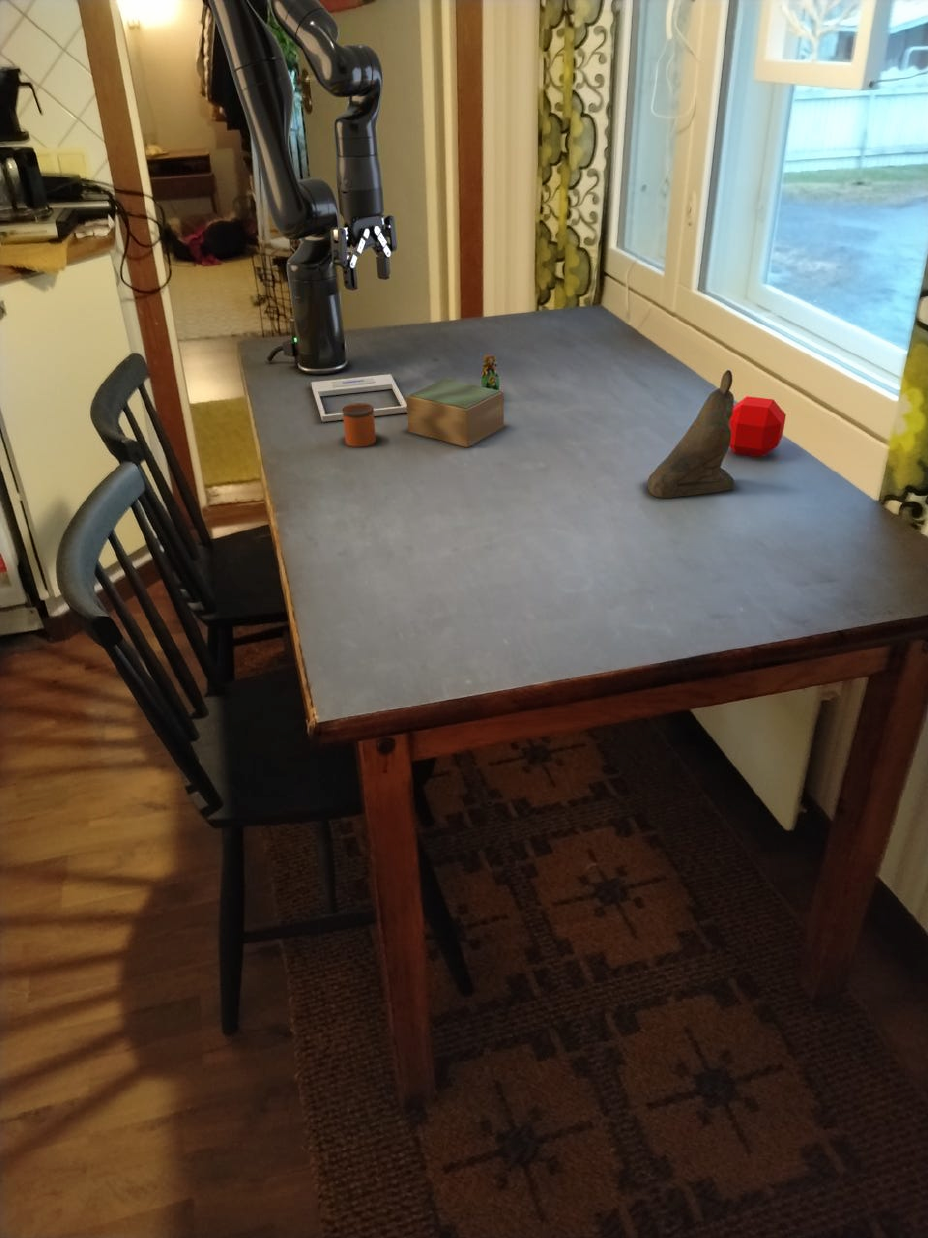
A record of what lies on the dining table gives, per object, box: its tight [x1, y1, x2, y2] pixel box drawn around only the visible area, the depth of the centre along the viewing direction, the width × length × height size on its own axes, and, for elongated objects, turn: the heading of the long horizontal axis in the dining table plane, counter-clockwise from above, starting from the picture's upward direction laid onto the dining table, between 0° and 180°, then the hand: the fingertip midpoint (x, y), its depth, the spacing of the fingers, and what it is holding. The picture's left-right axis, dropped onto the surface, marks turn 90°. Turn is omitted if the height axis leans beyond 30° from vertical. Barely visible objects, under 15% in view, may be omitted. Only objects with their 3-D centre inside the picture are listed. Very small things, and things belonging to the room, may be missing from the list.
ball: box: [729, 395, 787, 458], centre depth 143 cm, size 8×8×8 cm
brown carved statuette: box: [647, 369, 735, 499], centre depth 131 cm, size 12×6×18 cm, turn 97°
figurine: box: [480, 354, 500, 391], centre depth 164 cm, size 3×12×8 cm, turn 5°
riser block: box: [405, 378, 505, 448], centre depth 154 cm, size 12×10×6 cm
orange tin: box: [341, 402, 377, 448], centre depth 151 cm, size 5×5×5 cm
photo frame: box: [311, 373, 407, 422], centre depth 168 cm, size 15×1×18 cm
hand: (367, 284), depth 169 cm, fingers open, 8 cm apart
